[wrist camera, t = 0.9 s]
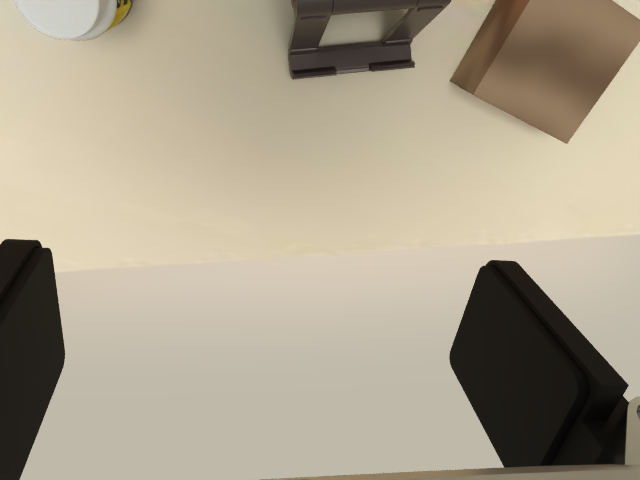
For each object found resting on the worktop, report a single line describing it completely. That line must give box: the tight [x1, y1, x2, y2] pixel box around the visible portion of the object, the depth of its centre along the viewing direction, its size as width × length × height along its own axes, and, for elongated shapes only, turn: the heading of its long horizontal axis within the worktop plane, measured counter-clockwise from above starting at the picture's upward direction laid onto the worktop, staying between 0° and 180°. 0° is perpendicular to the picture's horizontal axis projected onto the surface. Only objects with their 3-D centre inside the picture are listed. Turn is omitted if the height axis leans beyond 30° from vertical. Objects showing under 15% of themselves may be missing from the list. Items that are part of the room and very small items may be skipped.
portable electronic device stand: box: [288, 0, 451, 79], centre depth 31 cm, size 9×8×8 cm
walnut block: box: [450, 0, 640, 144], centre depth 36 cm, size 9×9×4 cm
